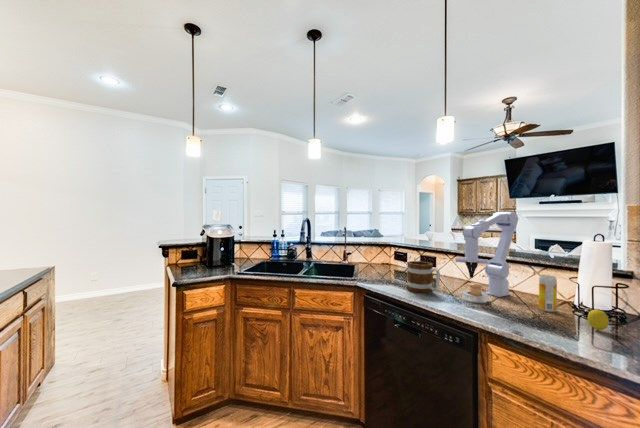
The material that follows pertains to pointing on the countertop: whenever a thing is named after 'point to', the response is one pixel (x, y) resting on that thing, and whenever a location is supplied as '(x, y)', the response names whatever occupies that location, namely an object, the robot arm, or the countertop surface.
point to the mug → (421, 277)
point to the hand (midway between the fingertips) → (471, 277)
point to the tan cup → (475, 288)
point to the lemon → (598, 319)
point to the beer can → (547, 293)
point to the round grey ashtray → (474, 297)
